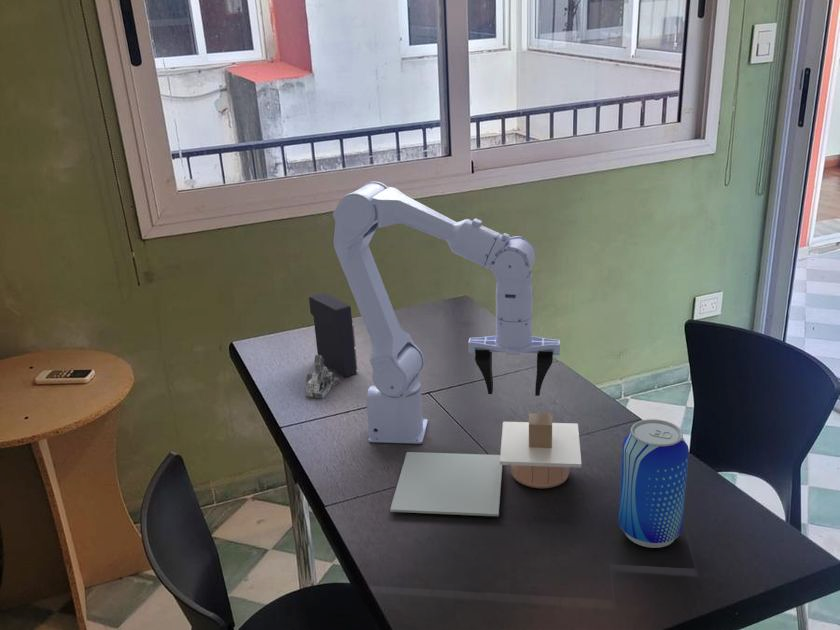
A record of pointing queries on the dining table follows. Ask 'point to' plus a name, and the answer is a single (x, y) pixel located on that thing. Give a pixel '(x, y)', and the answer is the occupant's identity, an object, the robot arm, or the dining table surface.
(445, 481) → the mat
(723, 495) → the dining table surface
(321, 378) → the grey crystal cluster
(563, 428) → the cover sheet
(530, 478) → the bowl
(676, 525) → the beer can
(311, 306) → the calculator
